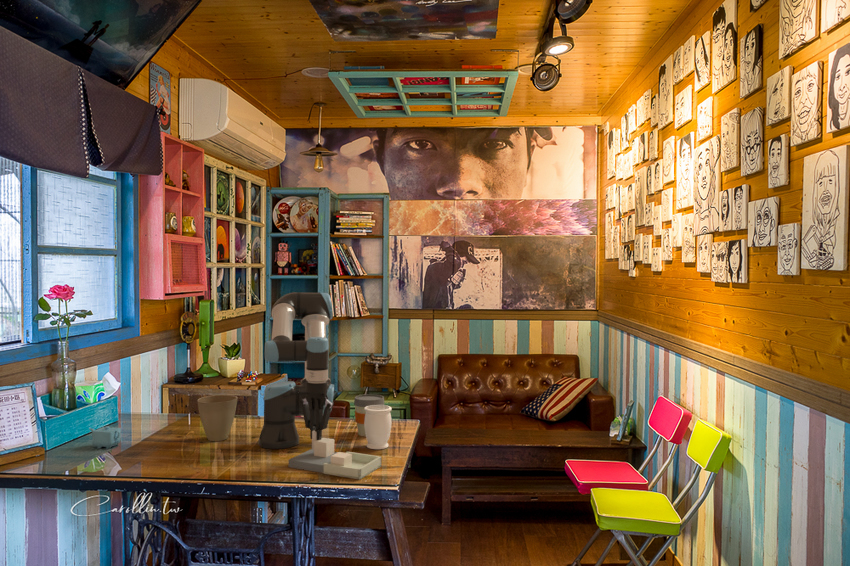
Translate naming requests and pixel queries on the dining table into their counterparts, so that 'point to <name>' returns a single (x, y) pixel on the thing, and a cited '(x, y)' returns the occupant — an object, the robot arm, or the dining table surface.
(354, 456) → the tray
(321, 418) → the robot arm
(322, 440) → the block
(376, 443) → the jar
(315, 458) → the board
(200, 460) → the dining table surface
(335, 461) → the block
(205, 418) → the plant pot
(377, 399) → the reusable coffee cup
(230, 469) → the dining table surface
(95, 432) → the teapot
